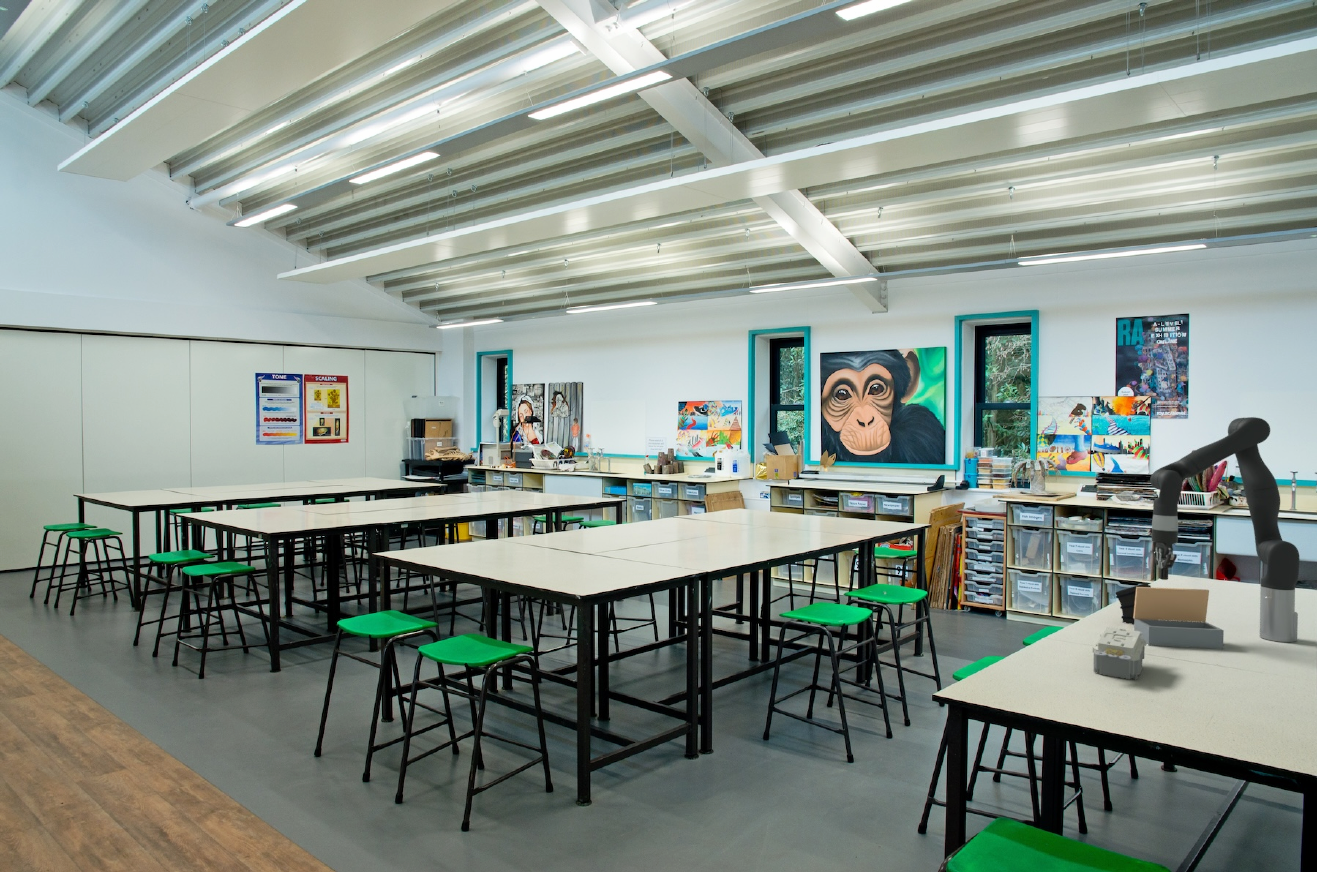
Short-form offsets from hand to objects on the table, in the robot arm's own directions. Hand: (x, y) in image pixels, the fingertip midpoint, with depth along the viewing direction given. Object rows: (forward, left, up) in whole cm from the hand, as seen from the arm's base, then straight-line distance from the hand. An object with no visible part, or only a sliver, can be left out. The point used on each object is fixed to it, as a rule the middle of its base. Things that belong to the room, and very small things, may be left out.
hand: (1163, 579), depth 275 cm
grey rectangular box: (0, +11, -19) cm, 22 cm away
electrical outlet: (+32, +48, -19) cm, 60 cm away
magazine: (+2, -15, -19) cm, 25 cm away
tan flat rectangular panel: (0, +6, -7) cm, 9 cm away
